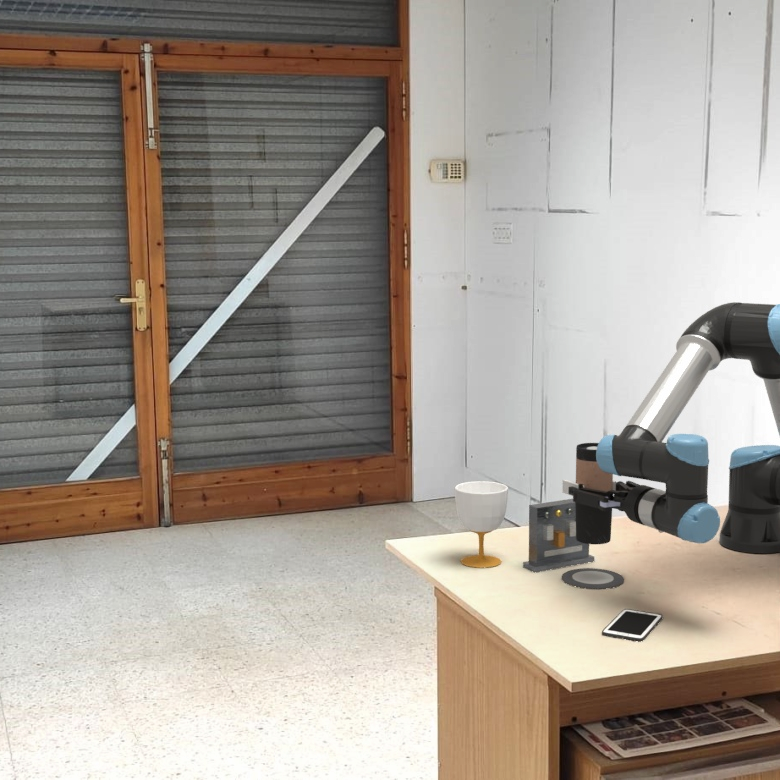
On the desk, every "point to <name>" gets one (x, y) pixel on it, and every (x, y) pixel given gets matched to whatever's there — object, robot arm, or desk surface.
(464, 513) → the cup
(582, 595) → the desk surface
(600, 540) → the travel mug
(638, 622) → the cell phone
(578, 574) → the pad
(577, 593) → the desk surface
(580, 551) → the breaker panel
